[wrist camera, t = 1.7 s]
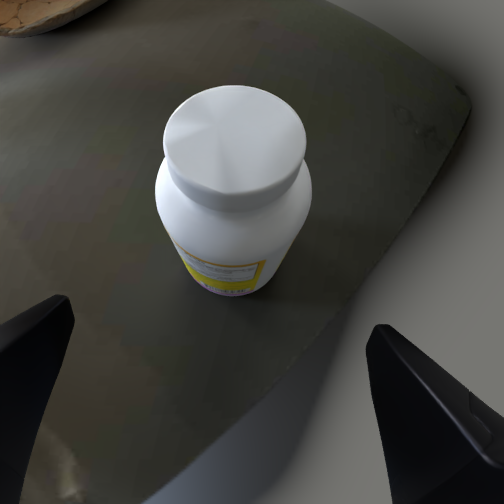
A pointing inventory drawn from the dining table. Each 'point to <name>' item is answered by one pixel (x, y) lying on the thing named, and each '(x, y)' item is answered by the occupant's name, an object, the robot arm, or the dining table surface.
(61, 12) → the ceramic bowl
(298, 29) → the dining table surface
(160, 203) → the supplement bottle
